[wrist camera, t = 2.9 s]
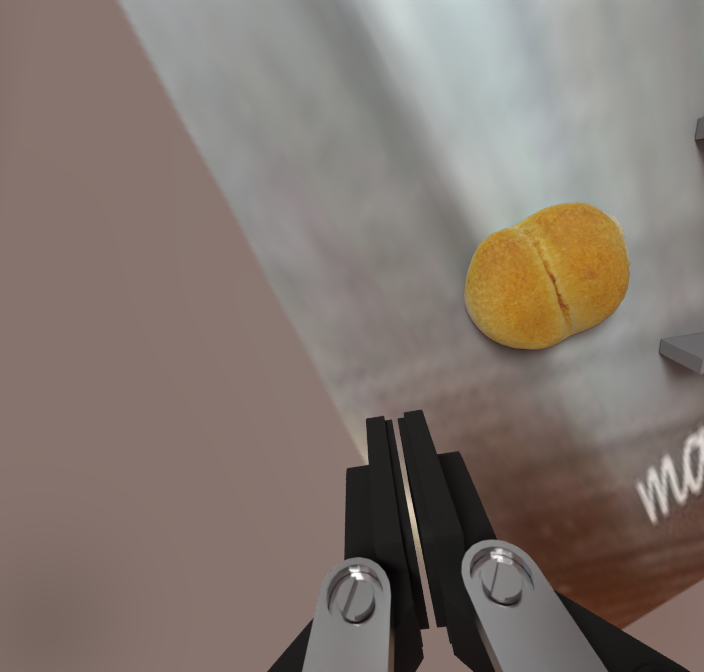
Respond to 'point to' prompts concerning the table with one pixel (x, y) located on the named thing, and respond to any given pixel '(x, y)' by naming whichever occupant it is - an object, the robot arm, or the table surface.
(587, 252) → the bread roll
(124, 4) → the table surface
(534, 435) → the table surface
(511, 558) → the robot arm
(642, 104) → the table surface
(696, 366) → the frame
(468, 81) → the table surface
